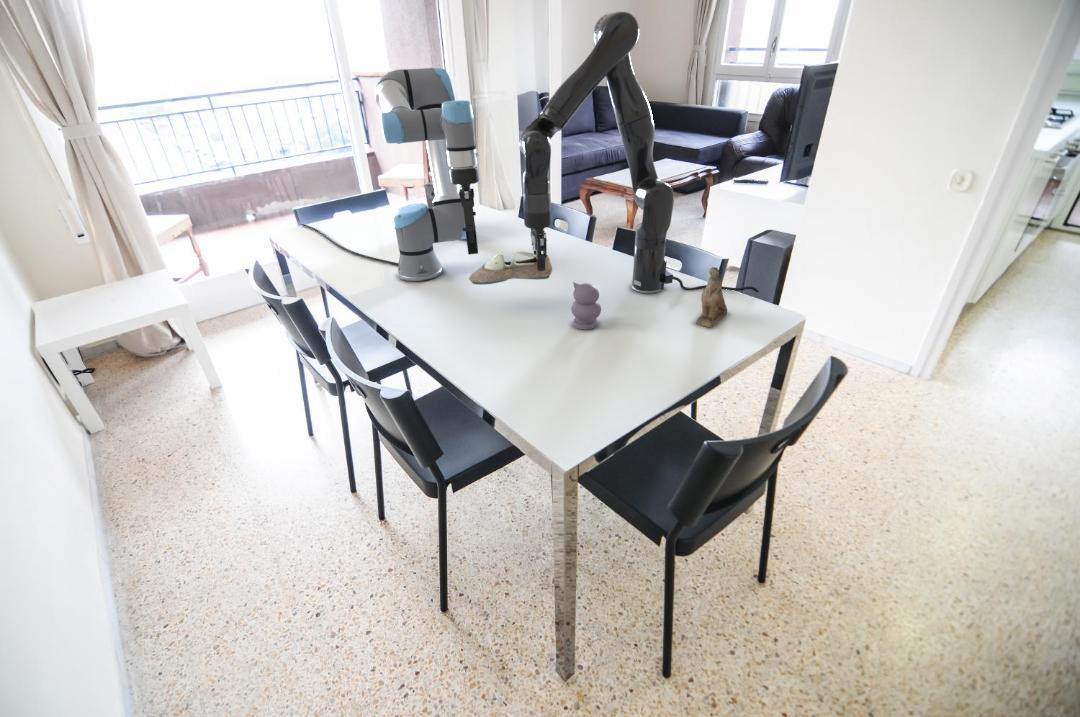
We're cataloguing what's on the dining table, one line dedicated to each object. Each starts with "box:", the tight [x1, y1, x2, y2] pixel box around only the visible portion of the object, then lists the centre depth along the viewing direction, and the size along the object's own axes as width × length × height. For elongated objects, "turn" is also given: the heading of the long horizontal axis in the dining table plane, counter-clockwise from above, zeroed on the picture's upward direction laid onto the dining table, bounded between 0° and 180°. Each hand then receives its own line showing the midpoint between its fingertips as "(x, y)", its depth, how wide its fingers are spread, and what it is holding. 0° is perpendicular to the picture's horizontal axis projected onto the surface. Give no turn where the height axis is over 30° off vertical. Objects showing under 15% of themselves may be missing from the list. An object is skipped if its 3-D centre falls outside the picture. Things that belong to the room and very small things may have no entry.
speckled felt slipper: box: [468, 250, 553, 286], centre depth 145 cm, size 8×25×8 cm, turn 99°
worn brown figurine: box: [695, 266, 728, 328], centre depth 135 cm, size 12×6×18 cm, turn 136°
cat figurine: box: [570, 281, 602, 331], centre depth 136 cm, size 8×8×12 cm
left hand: (472, 246), depth 141 cm, fingers open, 13 cm apart
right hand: (539, 266), depth 145 cm, fingers closed on speckled felt slipper, 6 cm apart
